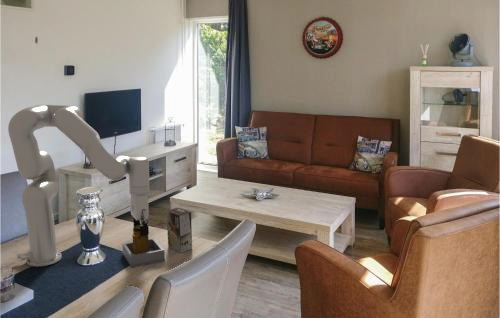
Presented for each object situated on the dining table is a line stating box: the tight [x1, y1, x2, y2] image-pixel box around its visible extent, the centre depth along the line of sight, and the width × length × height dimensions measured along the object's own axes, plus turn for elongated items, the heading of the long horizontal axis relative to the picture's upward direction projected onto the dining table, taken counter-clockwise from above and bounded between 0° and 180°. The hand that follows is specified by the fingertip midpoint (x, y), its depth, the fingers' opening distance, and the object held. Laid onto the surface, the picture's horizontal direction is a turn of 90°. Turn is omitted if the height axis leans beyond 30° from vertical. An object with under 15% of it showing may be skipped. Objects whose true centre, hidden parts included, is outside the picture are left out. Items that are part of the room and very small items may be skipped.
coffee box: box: [166, 207, 193, 254], centre depth 191 cm, size 9×6×16 cm
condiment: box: [132, 225, 151, 255], centre depth 182 cm, size 7×8×12 cm
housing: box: [122, 237, 166, 269], centre depth 183 cm, size 13×14×4 cm
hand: (141, 231), depth 181 cm, fingers open, 9 cm apart
